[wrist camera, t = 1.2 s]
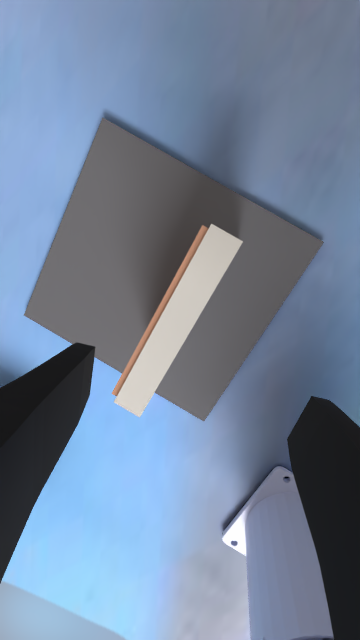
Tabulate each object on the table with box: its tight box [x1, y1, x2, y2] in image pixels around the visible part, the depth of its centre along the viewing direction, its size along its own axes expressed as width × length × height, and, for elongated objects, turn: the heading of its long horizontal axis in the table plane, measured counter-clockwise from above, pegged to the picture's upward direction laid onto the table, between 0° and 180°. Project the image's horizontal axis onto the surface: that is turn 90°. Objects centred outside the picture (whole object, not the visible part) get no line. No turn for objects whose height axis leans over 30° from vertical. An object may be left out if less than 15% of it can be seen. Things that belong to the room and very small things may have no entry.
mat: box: [24, 118, 324, 421], centre depth 20 cm, size 15×14×1 cm
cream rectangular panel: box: [112, 224, 243, 417], centre depth 16 cm, size 2×9×7 cm, turn 152°
